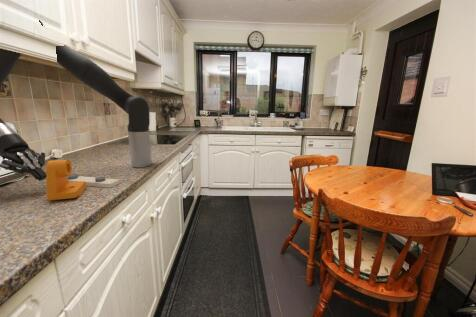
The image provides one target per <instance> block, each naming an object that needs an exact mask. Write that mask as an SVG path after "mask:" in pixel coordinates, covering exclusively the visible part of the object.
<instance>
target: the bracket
mask: <svg viewBox="0 0 476 317" xmlns="http://www.w3.org/2000/svg"><path fill="white" fill-rule="evenodd" d="M45 170H46V172H45V173H46V175H47V177H46V199H47V201H56V200H66V199H74V198H75V199H76V198H78V197H81V196H82V194H83V193H84V192H85V191H86V190H85V189H86V187H87V186H86V183H85V181H79V182H69V181H68V178H67V176H70V175H72V172H73V166H72V162H71V160H69V159H57V160H56V159H54V160H49V161H47V162H46V169H45Z"/></svg>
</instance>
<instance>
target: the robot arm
mask: <svg viewBox="0 0 476 317" xmlns="http://www.w3.org/2000/svg"><path fill="white" fill-rule="evenodd" d="M40 20H41V19H40ZM40 20H39V22H40V23H41V25H42V26H43V25H44V22H43V21H42V20H41V21H42V22H41V21H40ZM56 54H57V62H56V63H57V64H58V65H60V66H61V67H62V68H63V69H64V70H66V71H67V72H68V73H69V74H71V75H72V76H73V77H75V78H76V79H77V80H79V81H80V82H82V83H83V84H85V85H86V86H88V87H89V88H91V89H93V90H94V91H96V92H97V93H99V94H100V95H102V96H104V97H106V98H107V99H109V100H110V101H112V102H113V103H115V105H117V106H118V107H120V109H121V110H123V111H124V112H125V113H126V114H127V115H128V125H127V135H128V145H129V146H128V147H129V155H130V156H129V157H130V166H131V167H132V168H146V167H150V166H151V165H152V163H153V162H152V159H153V158H152V147H151V144H150V143H151V142H150V141H151V140H150V132H149V130H150V129H149V128H150V107H149V103H148V101H147V100H146V99H144V98H143V97H140V96H134V95H132V94H130V93H129V92H127V91H126V90H124V89H123V88H122V87H121V86H120V85H119V84H117V82H116V81H115V80H114V79H113V78H112V76H111V75H110V74H109V73H108V72H107V71H106V70H104V69H103V68H102V67H101V66H99V65H98V64H96V63H95V62H94V61H93V60H91V59H90V58H89V57H87V56H85V55H84V54H82V53H80V51H79V52H78V51H77V50H75V49H74V48H71V47H70V46H68V45H66V44H65V45H64V46H56ZM21 56H22V54H20V53H16V52H12V51H7V50H3V49H0V87H1V85H3V83H4V82H5V81H6V79H7V78H8V77H9V76H10V74H11V73H12V71H13V68H14V67H15V65H16V63H17V61H18V60H19V58H20V57H21ZM0 157H1V158H2V161H1V162H0V168H3V169H6V170H9V171H12V172H15V173H17V174H18V173H19V174H22V175H23V174H25V173H27V174H30V175H31V176H32V177H33V178H34V179H35V180H38V181H39V182H42V181H44V180H47V175H46V172H45V170H44V169H43V167H44V165H45V163H46V153H45V152H41V153H38V152H36V151H35V150H34V149H31V148H30V147H29V144H28V143H27V142H26V140H24V138H22V137H21V136H20V135H19V133H17V132H16V131H15V130H14V129H13V128H11V127H10V126H9V125H8V124H7V123H6V122H5V121H4V120H3V119H2V118H1V117H0Z"/></svg>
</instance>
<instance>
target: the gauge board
mask: <svg viewBox="0 0 476 317" xmlns="http://www.w3.org/2000/svg"><path fill="white" fill-rule="evenodd" d="M67 178H68V181H69V182H79V181H85V183H86V187H98V188H108V189H111V188H114V187H115V186H118V185H119V184H120V183H121V182H120V179H115V178H106V177H105V176H97V177H96V176H95V177H93V176H81V175H80V176H79V175H78V174H71V175H70V176H67Z"/></svg>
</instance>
